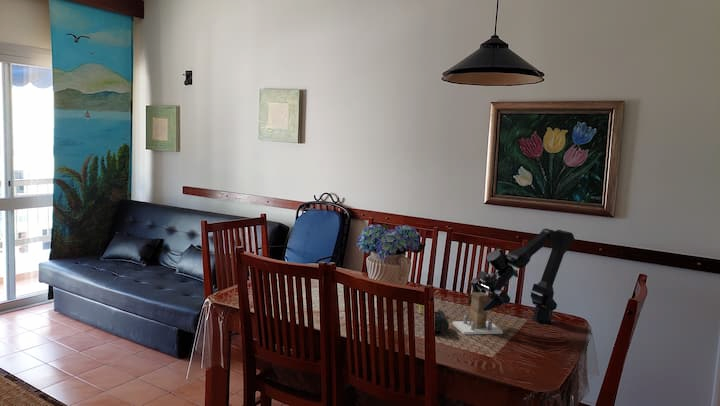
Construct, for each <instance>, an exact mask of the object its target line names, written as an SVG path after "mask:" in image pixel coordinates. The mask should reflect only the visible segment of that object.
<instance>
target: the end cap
mask: <svg viewBox="0 0 720 406" xmlns="http://www.w3.org/2000/svg"><path fill="white" fill-rule="evenodd" d="M433 312H434V313H435V334H436V335H435V336H442V335H443V334H446V333H447V332H448V330H449V327H450V324H449V321H448V319H447V316H446V313H445V312H444V311H442V310H440V309H438V310H437V311H433Z"/></svg>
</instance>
